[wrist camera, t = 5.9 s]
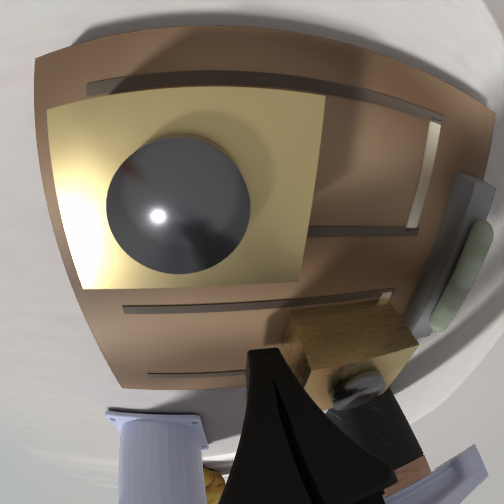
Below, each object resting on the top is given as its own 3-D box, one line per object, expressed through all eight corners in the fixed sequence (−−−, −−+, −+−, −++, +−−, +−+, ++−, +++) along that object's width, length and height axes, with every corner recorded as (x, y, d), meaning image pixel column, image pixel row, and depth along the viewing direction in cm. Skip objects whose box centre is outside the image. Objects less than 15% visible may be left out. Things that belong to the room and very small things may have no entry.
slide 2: (362, 351, 14) (387, 402, 11) (277, 366, 13) (294, 427, 10) (388, 298, 12) (425, 355, 9) (289, 311, 11) (316, 385, 8)
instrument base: (393, 340, 17) (418, 381, 14) (124, 367, 14) (118, 424, 11) (473, 106, 9) (533, 127, 5) (57, 60, 6) (-13, 57, 2)
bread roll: (167, 460, 27) (170, 511, 20) (237, 462, 30) (245, 510, 23) (161, 474, 33) (163, 513, 26) (215, 477, 36) (221, 514, 29)
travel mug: (403, 384, 23) (466, 530, 6) (351, 420, 26) (398, 555, 9) (366, 380, 20) (438, 567, 3) (306, 420, 23) (355, 585, 6)
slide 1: (270, 222, 9) (306, 298, 6) (114, 228, 8) (75, 306, 5) (281, 93, 7) (340, 97, 4) (101, 100, 6) (29, 114, 3)
